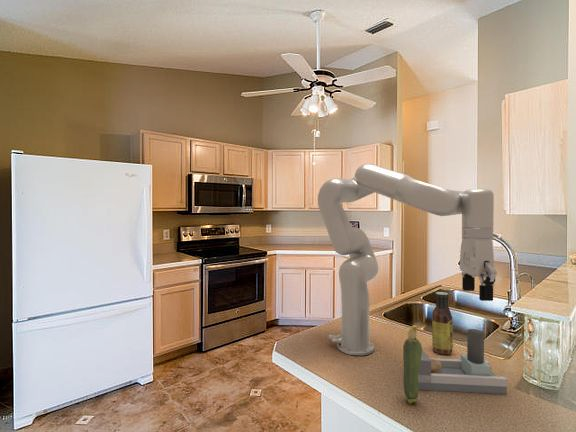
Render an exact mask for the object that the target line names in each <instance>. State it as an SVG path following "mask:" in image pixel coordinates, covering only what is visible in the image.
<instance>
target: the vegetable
mask: <svg viewBox="0 0 576 432" xmlns="http://www.w3.org/2000/svg"><path fill="white" fill-rule="evenodd" d="M417 332H419V329H418V325H417V324H413V325H411V326H410V328H409V329H408V331H407V336H408V338H406V339H405V341H404V343H403V346H402V347H403V348H402V349H403V351H402V353H403V356H402V357H403V382H402V385H403V392H404V396H405V397H406V399H407V402H408V403H409V405H412V404H411V403H416V402H417V400H418V397H419V390H418V388H419V377H418V375H419V367H420V363H421V356H422V349H423V347H422V343H421V342H420V341H419V339H418V338H417Z"/></svg>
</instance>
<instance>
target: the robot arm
mask: <svg viewBox="0 0 576 432" xmlns="http://www.w3.org/2000/svg"><path fill="white" fill-rule="evenodd" d="M374 193H376V194H379V195H380V196H381V195H382V196H384V197H386V198H389V199H391V200H394V201H398V202H399V203H403V204H406V205H408V206H410V207H412V208H415V209H419V210H420V211H424V212H427V213H429V214H432V215H435V216H439V217H446V216H455V215H461V244H460V251H459V270H460V271H461V278H462V283H461V284H462V290H463V292H474V291H476V290H475V288H476V287H475V286H476V282H475V280H476V277H478V279H479V283H480V285H478V286H479V288H478V289H479V290H478V291H479V295H478V296H479V298H478V299H479V301H481V302H482V301H483V302H485V301H486V302H487V301H489V302H492V301H494V286H495V282H496V277H497V275H498V272H497V270H496V269H495V256H494V245H493V241H494V210H495V209H494V202H495V201H494V200H495V199H494V192H493V191H492V190H490V189H488V188H486V189H485V188H483V189H482V188H481V189H480V188H478V189H466V190H464V191H463V190H454V189H453V190H452V189H448V188H447V189H446V188H444V187H439V186H436V185H433V184H430V183H426V182H424V181H420V180H417V179H415V178H413V177H412V176H411V175H408V174H405V173H402V172H398V171H395V170H392V169H389V168H385V167H382V166H381V165H380V166H379V165H376V164H373V163H364V164H361V165H360V166H358V168H357V169H356V170H355V173H354V177H352V178H350V179H346V178H341V177H340V178H338V177H336V178H335V177H334V178H330V179H328V180H326V181H325V182H324V183H323V184H322V185H321V186H320V189H319V191H318V194H317V207H318V209H319V212H320V214H321V217H322V219H323V222H324V224H325V228H326V231H327V234H328V236H329V239H330V242H331V245H332V248H333V250H334V251H335V252H336V253H337V254H338V255H340V256H348V257H349V258H348V259H345V260H344V261H343V262H342V263H341V265H340V267H339V269H338V278H339V284H340V285H339V286H340V293H341V294H340V296H341V297H340V298H341V330H340V332H339V333H337V334H332V333H331V334H328V341H332V343H334V344H335V343H337V344H336V346H337V349H338V350H339V351H340V352H342V353H344V354H347V355H350V356H354V357H355V356H356V357H357V356H359V357H361V356H368V355H370V354H372V353H373V352H374V350H375V345H374V344H373V342H372V341H370V293H369V288H368V282H369V281H370V280H373V279H374V278H376V276H377V275H378V272H379V264H378V260H377V258H376V255H375V253H374V249H373V247H372V244H371V242H370V240H369V238H368V237H369V236H368V235H367V234H366V233H365V231H364V230H362V229H361V228H358V227H357V226H356V227H355V226H354V227H353V226H352V225H351V222H350V219H349V216H348V214H347V212H346V211H345V209H344V208H343V206H342V203H354V202H356V201H359V200H361V199H363V198H365V197H368V196H370V195H372V194H374ZM484 278H485V279H484Z"/></svg>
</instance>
